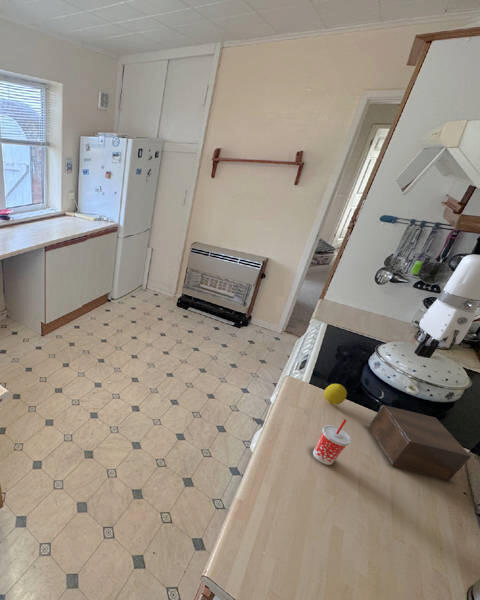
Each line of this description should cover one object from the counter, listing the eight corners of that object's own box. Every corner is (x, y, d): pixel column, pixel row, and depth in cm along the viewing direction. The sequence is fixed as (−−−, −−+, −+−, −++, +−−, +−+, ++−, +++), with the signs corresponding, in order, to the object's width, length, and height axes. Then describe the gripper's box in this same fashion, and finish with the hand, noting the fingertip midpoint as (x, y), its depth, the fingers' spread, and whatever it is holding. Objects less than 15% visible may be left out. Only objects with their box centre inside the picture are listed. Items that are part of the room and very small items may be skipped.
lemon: (341, 403, 108) (351, 385, 104) (338, 412, 104) (349, 393, 100) (321, 394, 111) (331, 376, 107) (319, 402, 107) (329, 384, 104)
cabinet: (368, 428, 99) (383, 404, 94) (417, 441, 95) (435, 417, 91) (391, 465, 87) (410, 440, 83) (448, 481, 84) (471, 456, 79)
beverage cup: (339, 470, 84) (364, 432, 78) (313, 462, 86) (335, 425, 80) (331, 451, 89) (354, 415, 83) (306, 444, 91) (327, 408, 85)
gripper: (498, 315, 80) (454, 373, 88) (456, 292, 92) (421, 345, 101) (460, 309, 81) (421, 367, 90) (424, 287, 94) (393, 339, 102)
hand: (421, 355), depth 95 cm, fingers closed
